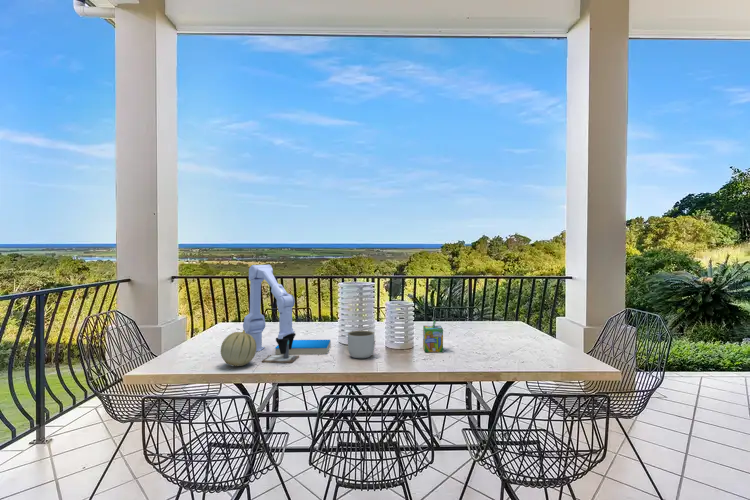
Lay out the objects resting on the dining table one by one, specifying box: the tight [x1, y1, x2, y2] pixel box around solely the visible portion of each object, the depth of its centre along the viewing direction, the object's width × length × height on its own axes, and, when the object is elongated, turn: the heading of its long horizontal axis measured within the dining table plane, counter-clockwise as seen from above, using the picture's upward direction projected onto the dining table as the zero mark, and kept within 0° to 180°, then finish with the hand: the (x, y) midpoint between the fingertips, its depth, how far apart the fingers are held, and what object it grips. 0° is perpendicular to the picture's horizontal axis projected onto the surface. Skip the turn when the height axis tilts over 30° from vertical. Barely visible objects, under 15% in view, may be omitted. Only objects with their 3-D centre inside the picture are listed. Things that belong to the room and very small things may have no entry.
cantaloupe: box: [220, 329, 257, 367], centre depth 166 cm, size 15×15×15 cm
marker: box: [283, 340, 290, 359], centre depth 175 cm, size 3×3×8 cm
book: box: [274, 339, 332, 356], centre depth 192 cm, size 17×4×25 cm
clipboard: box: [261, 354, 300, 364], centre depth 175 cm, size 14×10×1 cm
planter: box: [347, 330, 375, 359], centre depth 179 cm, size 12×12×11 cm
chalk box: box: [422, 319, 444, 353], centre depth 189 cm, size 9×9×15 cm
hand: (286, 351), depth 175 cm, fingers open, 7 cm apart
